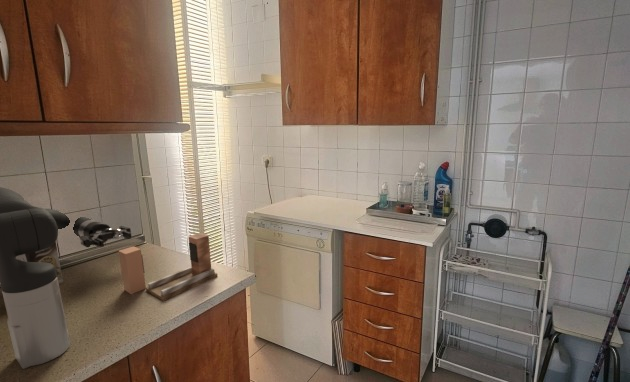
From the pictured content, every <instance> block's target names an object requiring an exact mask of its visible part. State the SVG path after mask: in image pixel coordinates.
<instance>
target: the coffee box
mask: <svg viewBox="0 0 630 382" xmlns="http://www.w3.org/2000/svg"><path fill="white" fill-rule="evenodd" d="M16 259H17V260H21V261H26V262H46V263H50V264H53V265H54V266H55V268H56V273H57V278H58V283H59V285H60V284H62V283H64V280H63V275H62V267H61V263H60V258H59V252H58V247H57V241H56V242H55V243H54V244H53V245H52V246H51V247H49V248H46V249H43V250H40V251H36V252H31V253H27V254H23V255H19V256H16Z"/></svg>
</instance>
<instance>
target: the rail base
mask: <svg viewBox="0 0 630 382" xmlns="http://www.w3.org/2000/svg"><path fill="white" fill-rule="evenodd" d="M188 247H189V249H188V250H189V258H190V265H191V266H189V267H186V268H184V269H181V270H178V271H176V272H173V273H170V274H168V275H166V276H163V277H160V278H159V279H156V280H153V281H150V282H148V283H147V285H148V286H147V287H146V288H145V291H146V292H147V293H150V294H151V295H153V296H154V297H156V298H158V299H160V300H161V301H162V302H164V301H167V300H168V299H170V298H172V297H175V296H178V295H179V294H182V293H184V292H186V291H188V290H191V289H192V288H195V287H198V286H199V285H201V284H203V283H206V282H208V281H210V280H212V279H215V278H216V277H218V273H217V272H215V269H214V268H212V262H211V261H212V260H211V250H210V249H211V248H210V237H209V234H205V233H203V232H199V233H195V234H193V235H189V236H188Z"/></svg>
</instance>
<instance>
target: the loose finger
mask: <svg viewBox="0 0 630 382" xmlns="http://www.w3.org/2000/svg"><path fill="white" fill-rule="evenodd" d="M118 256H119V263H120V264H119V265H120V270H121V277H122V284H123V290H124V291H125V292H127V293H128V294H130V295H133V294H135V293H138V292H140V291H142V290H146V288H147V287H146V279H145V268H144V267H145V265H144V259H143V254H142V250H141V249H140V248H138V247H136V246H134V245H133V246H129V247H127V248H123V249H119V250H118Z"/></svg>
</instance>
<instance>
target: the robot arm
mask: <svg viewBox="0 0 630 382" xmlns="http://www.w3.org/2000/svg"><path fill="white" fill-rule="evenodd" d="M59 211H60V210H56V209H53V208H43V207H38V206H35V205H32V204H31V203H29V202H28V201H27V200H25V198H24V197H23V196H22V195H21V194H19V193H18V192H16V191H15V190H13V189H9V188H5V187H1V186H0V288H1V293H2V297H3V301H4V306H5V309H6V314H7V320H6V322H7V327H8V332H9V335H10V340H11V343H12V347H13V352H14V357H15V360H16V361H17V362H18V364H19V366H20V367H21V369H23V370H25V369H27V368H29V367H33V366H38V365H42V364H45V363H48V362H50V361H52V360H54V359H56V358H57V357H59V356H61V355H62V354H64V353H65V352H66V351H67V350H68V349H69V347H70V345H71V341H70V334H69V330H68V325H67V319H66V315H65V310H64V305H63V304H64V303H63V300H62V294H61V289H60V284H59V283H58V278H57V273H56V268H55V266H54V265H53V264H50V263H46V262H26V261H21V260H17V259H16V256H19V255H23V254H27V253H31V252H36V251H40V250H43V249H46V248H49V247H51V246H52V245H53V244H54V243H55V242H56V243H57V239H58V236H59V232H58V229H62V228H65V227H66V226H68V225H69V223H70V220H69V218H68V217H67V216H66V215H65V214H63V213H61V212H59ZM91 219H92V218H91ZM91 219H89V218H86V217H80V218H78V219H77V220H76V221H75V224H74V227H73V230H74V233H75V234H76V235H77V236H79V240H80V244H81V245H82V246H83V247H85V248H91V246H93V247H100V248H103V247H105V243H107V242H108V241H111V240H119V239H121V238H124V239H127V240H130V239H131V238H132V231H131V228H130V227H127V226H123V225H120V226H119V228H111V226H109V225H108V224H107V223H104V222H101V221H98V220H93V219H92V220H91Z"/></svg>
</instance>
